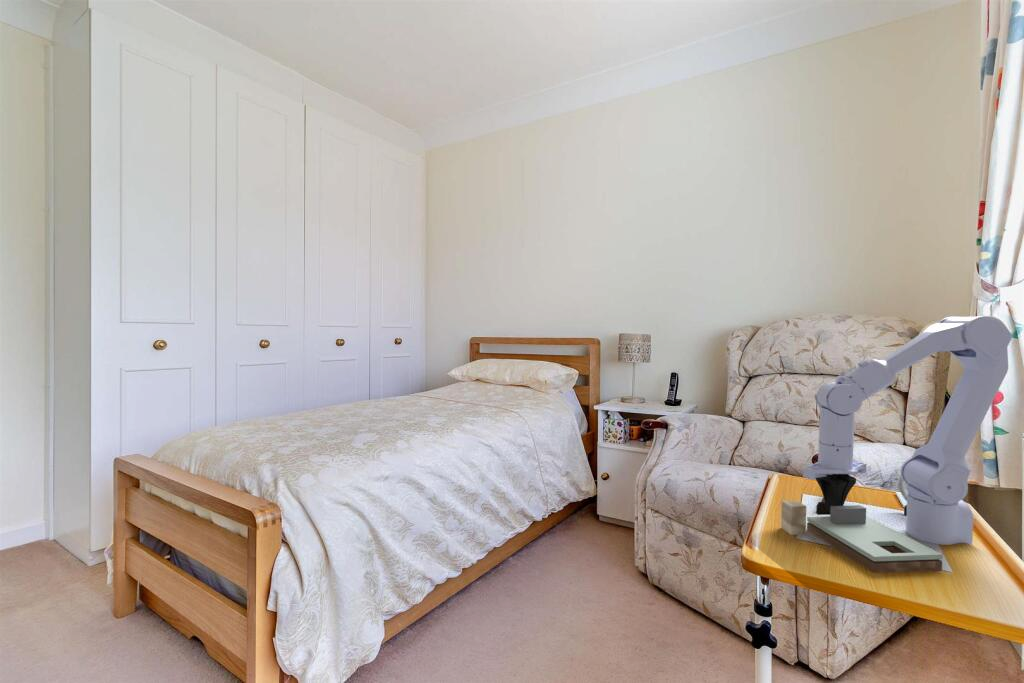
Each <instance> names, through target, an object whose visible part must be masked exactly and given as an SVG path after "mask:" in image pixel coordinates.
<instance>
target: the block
mask: <svg viewBox="0 0 1024 683" xmlns="http://www.w3.org/2000/svg"><path fill="white" fill-rule="evenodd" d="M780 515H781V516H780V529H782V530H783V531H784V532H786V533H788V534H789V535H790V536H794V535H806V533H807V505H805V504H803V503H801V502H800V501H798V500H796V499H795V500H794V499H793V500H781V514H780Z"/></svg>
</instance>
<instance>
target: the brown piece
mask: <svg viewBox="0 0 1024 683" xmlns="http://www.w3.org/2000/svg"><path fill="white" fill-rule="evenodd" d="M807 531H808V532H809V533H811V534H812V535H814V536H815V537H817V538H819V539H820V540H821V541H823V542H825V543H827V544H828V545H830V546H831V547H833V548H834V549H836V550H838V551H839V552H840V553H842V554H844V555H845V556H847V557H848V558H850V559H852V560H853V561H854V562H856V563H858V564H859V565H861V566H862V567H864V568H866V569H867V570H869V571H871V572H872V573H897V572H899V573H900V572H901V573H902V572H923V571H924V572H927V571H943V559H933V560H903V561H872V560H871V559H869V558H867V557H866V556H864V555H863V554H861V553H859V552H858V551H856V550H854V549H853V548H851V547H849V546H848V545H846V544H844V543H843V542H841V541H839V540H838V539H836V538H834V537H833V536H831V535H830V534H828V533H826V532H825V531H823V530H821V529H820V528H818V527H816V526H815V525H813V524H811V523H810V522H808V521H806V532H807ZM880 547H881V548H883V549H885V550H887V551H889V552H890V553H907V552H905V551H903V550H901V549H899V548H897V547H895V546H880Z"/></svg>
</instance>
